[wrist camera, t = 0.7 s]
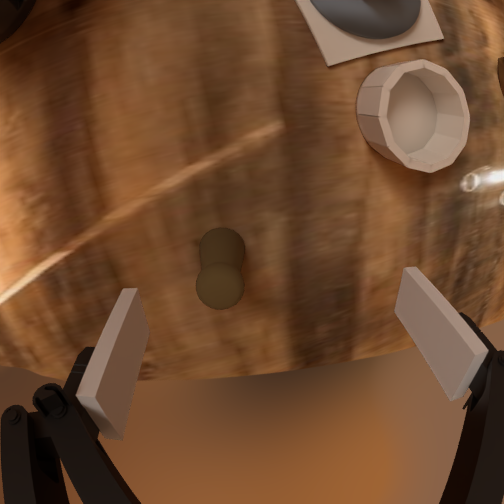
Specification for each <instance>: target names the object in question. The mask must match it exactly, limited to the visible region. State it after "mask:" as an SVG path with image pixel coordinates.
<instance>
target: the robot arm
mask: <svg viewBox="0 0 504 504" xmlns="http://www.w3.org/2000/svg"><path fill="white" fill-rule="evenodd" d="M35 1H36V0H0V43H1V42H2V41H4V40H5V39H7V38H8V37H9V36H10V35H11V34H12V33H13V32H14V31H15V30H16V29H17V28H18V27H19V26H20V25H21V24H22V22H23V21H24V20H25V18H26V17H27V15H28V14H29V12H30V10H31V9H32V7H33V5H34V3H35ZM394 312H395V314H396V315H397V317H398V318H399V320H400V321H401V323H402V324H403V326H404V327H405V329H406V330H407V332H408V333H409V335H410V336H411V338H412V339H413V341H414V343H415V344H416V346H417V347H418V349H419V350H420V352H421V354H422V355H423V357H424V358H425V360H426V362H427V363H428V365H429V367H430V368H431V370H432V372H433V373H434V375H435V376H436V378H437V380H438V382H439V383H440V385H441V387H442V388H443V390H444V392H445V394H446V395H447V397H448V399H449V400H450V401H453V400H455V399H458V398H461V397H463V396H464V394H465V393H466V391H467V389H468V388H470V390H471V391H472V393H471V395H470V397H469V398H468V400H467V402H466V403H465V405H464V407H463V409H465V408H466V406H467V405H468V407H467V412H466V417H465V421H464V425H463V429H462V433H461V437H460V441H459V445H458V449H457V452H456V456H455V459H454V462H453V466H452V469H451V472H450V475H449V478H448V481H447V484H446V486H445V489H444V492H443V495H442V498H441V500H440V502H439V504H501V503H502V499H503V495H504V351H501V350H500V351H497V350H496V349H495V348H494V346H493V345H492V344H491V342H490V341H489V340H488V339H487V337H486V336H485V335H484V334H483V333H482V332H481V330H480V329H479V328H478V327H476V324H475V323H474V322H473V321H472V320H471V318H469V317H468V316H466V315H465V314H463V313H462V312H461V313H458V312H457V311H456V310H455V309H454V308H453V307H452V306H451V304H450V303H449V302H448V301H447V300H446V299H445V298H444V296H443V295H442V294H441V293H440V292H439V291H438V290H437V289H436V288H435V286H434V285H433V284H432V283H431V282H430V281H429V280H428V279H427V278H426V277H425V276H424V275H423V274H422V272H421V271H420V270H419V269H418V268H417V267H407V268H404V269H403V274H402V279H401V284H400V288H399V293H398V297H397V302H396V306H395V310H394ZM149 334H150V330H149V327H148V323H147V320H146V317H145V313H144V310H143V306H142V302H141V299H140V295H139V291H138V288H124V289H123V290H122V292H121V294H120V296H119V298H118V300H117V302H116V304H115V306H114V308H113V310H112V312H111V314H110V317H109V319H108V321H107V323H106V325H105V327H104V329H103V332H102V334H101V336H100V338H99V341H98V343H97V345H96V347H86V348H85V349H84V350H83V351H82V352H81V353H80V354H79V355H78V357H77V359H76V361H75V363H74V364H75V365H74V366H73V368H72V370H71V373H70V374H69V377H68V379H67V381H66V384H65V386H64V388H63V389H62V388H61V386H59V385H57V384H55V383H49V384H45V385H43V386H41V387H40V388H38V389H37V391H36V392H35V393H34V396H33V405H34V406H35V408H36V409H37V410H38V412H30V413H28V412H27V411H26V410H25V409H24V407H23V406H20V405H13V406H10V407H9V408H7V409H6V410H5V411H4V413H3V414H2V417H1V469H2V482H3V493H4V500H5V504H70V503H69V500H68V496H67V491H66V487H65V483H64V478H63V473H62V468H61V463H60V459H61V461H62V463H63V465H64V467H65V470H66V471H67V474H68V476H69V478H70V480H71V482H72V484H73V485H74V487H75V489H76V491H77V493H78V495H79V497H80V498H81V500H82V502H83V504H141V502H140V501H139V500H138V499H137V497H136V496H135V495H134V493H133V492H132V490H131V489H130V488H129V486H128V485H127V483H126V482H125V481H124V479H123V478H122V476H121V475H120V473H119V472H118V470H117V469H116V467H115V466H114V464H113V463H112V461H111V459H110V458H109V456H108V455H107V453H106V452H105V450H104V448H103V447H102V445H101V443H100V442H99V440H98V439H97V438H98V434H99V431H100V432H101V433H102V435H103V436H104V438H107V439H115V440H123V436H124V432H125V427H126V423H127V418H128V414H129V410H130V406H131V402H132V397H133V394H134V390H135V385H136V382H137V378H138V374H139V370H140V367H141V363H142V359H143V356H144V352H145V349H146V345H147V341H148V338H149Z"/></svg>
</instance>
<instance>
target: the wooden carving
mask: <svg viewBox="0 0 504 504" xmlns="http://www.w3.org/2000/svg"><path fill="white" fill-rule="evenodd" d="M498 74H499V82H500V86H501V90H502V93H503V96H504V57H501V58H498Z"/></svg>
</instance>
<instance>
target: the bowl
mask: <svg viewBox="0 0 504 504" xmlns="http://www.w3.org/2000/svg"><path fill="white" fill-rule="evenodd" d="M356 117H357V122H358V125H359V128H360V130H361V133H362V135H363V136H364V138H365V140H366V141H367V142H368V144H369V145H370V146H371V147H372V148H373V149H374V150H376V151H377V152H378V153H380V154H381V155H382V156H383V157H385V158H387V159H389V160H391V161H394V162H396V163H398V164H401V165H403V166H405V167H407V168H411V169H416V170H420V171H424V172H428V173H432V172H435V171H437V170H439V169H442V168H444V167H447V166H449V165H451V163H453V162H454V161H455V159H456V158H457V156H458V155H459V154H460V152H461V151H462V149H463V148H464V146H465V145H466V144H465V143H466V141H467V136H468V129H469V123H470V118H469V117H470V114H469V110H468V106H467V102H466V98H465V94H464V91H463V89H462V88H461V87H460V85H459V84H458V83H457V82H456V80H455V79H454V78H453V76H452V75H451V74H450V73H449V71H448V70H446V69H445V68H443V67H441V66H438V65H436V64H434V63H431V62H429V61H427V60H424V59H420V60H413V61H407V62H400V63H395V64H392V65H388V66H383V67H380V68H377V69H375V70H374V71H373V72H372V73H370V74H369V75H368V76H367V77H366V78H365V80H364V81H363V83H362V84H361V86H360V88H359V91H358V94H357V99H356Z"/></svg>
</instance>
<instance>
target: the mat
mask: <svg viewBox="0 0 504 504" xmlns="http://www.w3.org/2000/svg"><path fill="white" fill-rule="evenodd" d="M295 2H296V4H297V5H298V7H299V9H300V11H301V13H302V15H303V17H304V19H305V21H306V23H307V25H308V27H309V29H310V31H311V33H312V35H313V37H314V39H315V41H316V43H317V45H318V47H319V50H320V52H321V54H322V56H323V58H324V61H325V63H326V65H327V67H328V66H331V65H334V64H337V63H341V62H344V61H347V60H351V59H354V58H358V57H362V56H365V55H369V54H373V53H377V52H381V51H385V50H389V49H393V48H398V47H402V46H407V45H412V44H417V43H422V42H428V41H433V40H439V39H444V37H443V34H442V32H441V29H440V27H439V25H438V22H437V20H436V17H435V15H434V13H433V11H432V8H431V6H430V4H429V2H428V0H421V6H420V12H419V16H418V18H417V20H416V22H415V23H414V25H413V26H412V27H411V28H410V29H409V30H407V31H406V32H404V33H402V34H400V35H397V36H394V37H391V38H386V39H368V38H363V37H359V36H356V35H353V34H350V33H348V32H346V31H344V30H342V29H340V28H338V27H337V26H335V25H334V24H332V23H331V22H329V21H328V20H327V19H326V18H325V17H323V16H322V15H321V14H320V13H319V12H318V11H317V10H316V8H315V7H314V6H313V5H312V3H311V2H310V0H295Z"/></svg>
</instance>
